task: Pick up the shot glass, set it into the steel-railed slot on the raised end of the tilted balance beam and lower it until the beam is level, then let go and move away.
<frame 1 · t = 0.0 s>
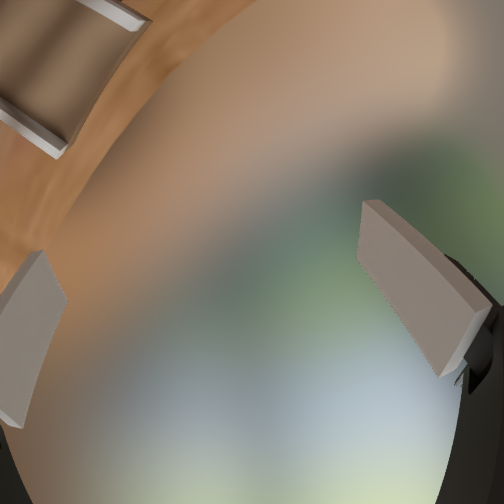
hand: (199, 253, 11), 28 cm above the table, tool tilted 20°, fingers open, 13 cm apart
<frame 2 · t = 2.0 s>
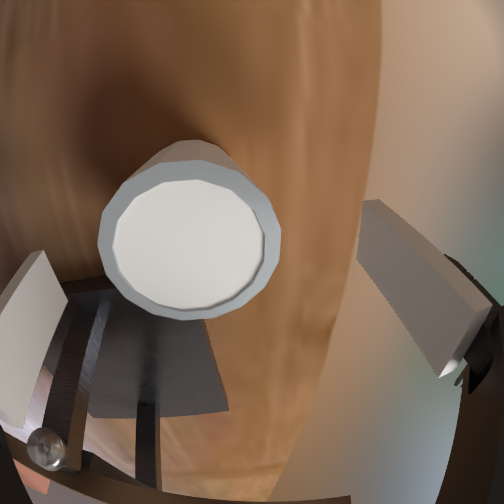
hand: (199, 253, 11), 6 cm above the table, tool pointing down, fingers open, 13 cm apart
beam: (112, 500, 12), point 13 cm above the table, hinge at -12.0°
stand: (124, 359, 23), on the table
shot glass: (191, 186, 16), on the table
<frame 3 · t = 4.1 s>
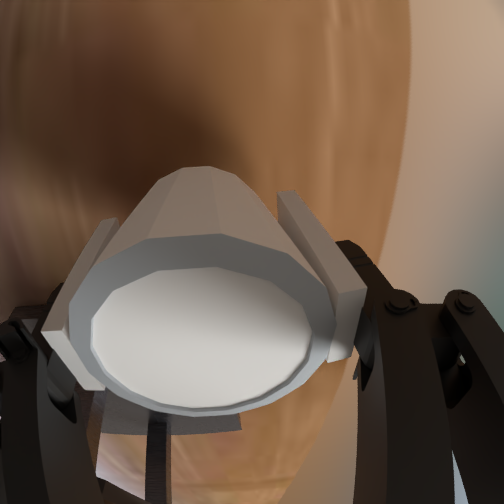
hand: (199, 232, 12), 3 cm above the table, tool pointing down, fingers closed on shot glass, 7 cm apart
stand: (136, 378, 22), on the table
shot glass: (200, 226, 13), point 3 cm above the table, touching gripper
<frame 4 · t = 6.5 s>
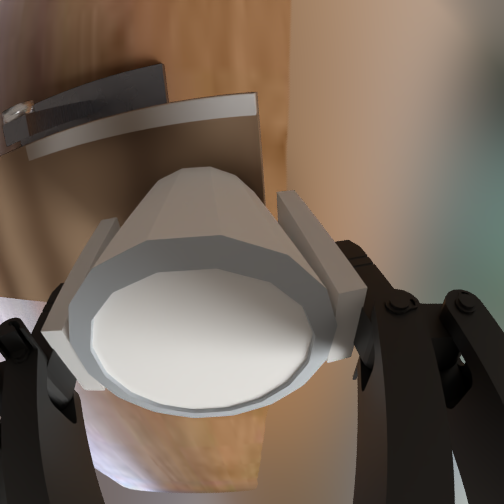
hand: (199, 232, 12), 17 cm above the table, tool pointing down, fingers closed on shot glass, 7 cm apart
beam: (39, 231, 15), point 13 cm above the table, hinge at -12.0°
stand: (100, 170, 26), on the table
shot glass: (200, 227, 13), point 16 cm above the table, touching gripper
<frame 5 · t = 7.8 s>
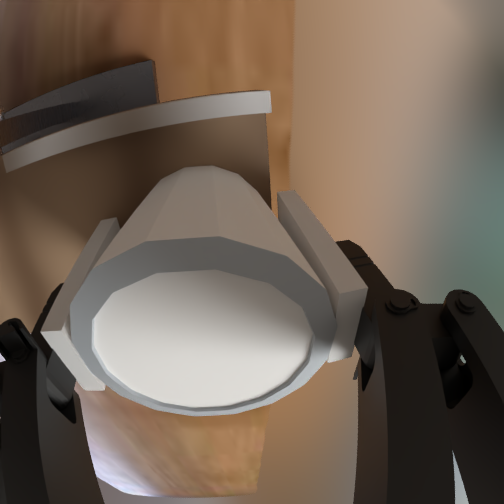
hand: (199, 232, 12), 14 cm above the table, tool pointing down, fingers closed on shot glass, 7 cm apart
beam: (16, 255, 12), point 13 cm above the table, hinge at -1.2°, touching shot glass
stand: (86, 179, 23), on the table
shot glass: (203, 225, 13), point 14 cm above the table, touching beam, gripper
when the fingers open (14 cm above the table, at t = 9.1 s): shot glass stays where it is, resting on beam.
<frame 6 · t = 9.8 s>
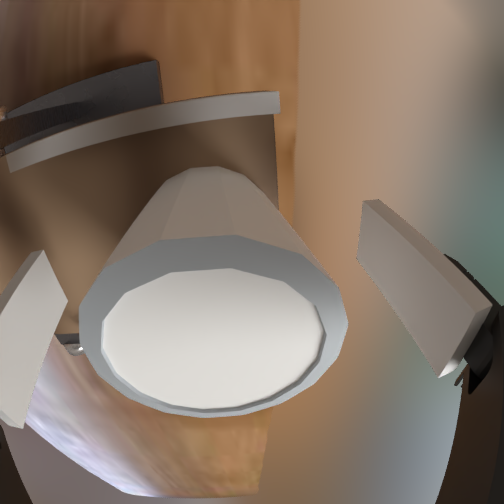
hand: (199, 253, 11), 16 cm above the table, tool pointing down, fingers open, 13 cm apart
beam: (19, 257, 12), point 13 cm above the table, hinge at -0.7°, touching shot glass
stand: (90, 179, 23), on the table
shot glass: (208, 226, 13), point 13 cm above the table, touching beam
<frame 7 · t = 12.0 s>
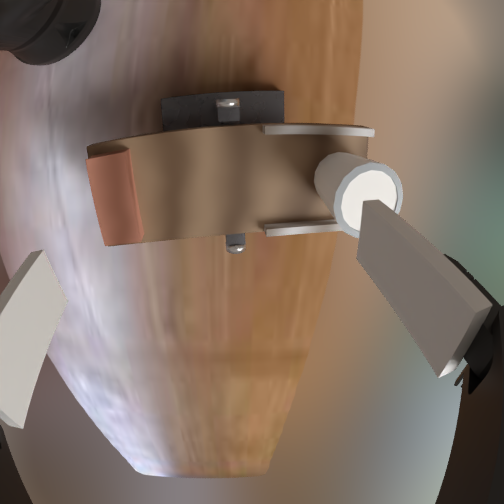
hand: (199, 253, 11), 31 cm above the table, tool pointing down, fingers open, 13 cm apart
beam: (232, 181, 28), point 13 cm above the table, hinge at -0.6°, touching shot glass
stand: (225, 155, 39), on the table
shot glass: (338, 177, 29), point 13 cm above the table, touching beam
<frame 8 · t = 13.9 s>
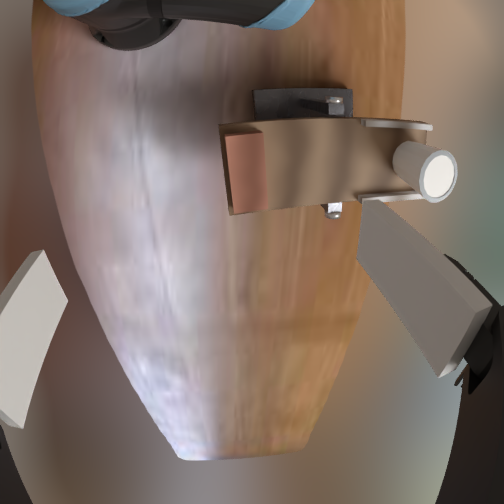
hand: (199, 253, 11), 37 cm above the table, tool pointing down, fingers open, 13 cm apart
beam: (337, 161, 34), point 13 cm above the table, hinge at -0.4°, touching shot glass
stand: (305, 141, 45), on the table
shot glass: (407, 159, 35), point 13 cm above the table, touching beam
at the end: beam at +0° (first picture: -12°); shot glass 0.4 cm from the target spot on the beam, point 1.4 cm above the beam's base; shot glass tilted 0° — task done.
